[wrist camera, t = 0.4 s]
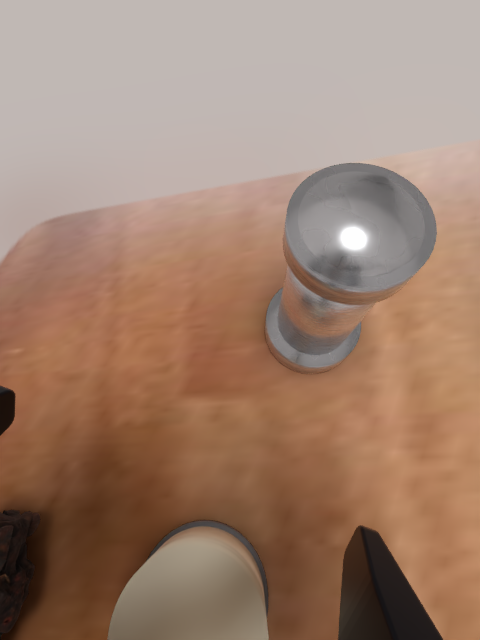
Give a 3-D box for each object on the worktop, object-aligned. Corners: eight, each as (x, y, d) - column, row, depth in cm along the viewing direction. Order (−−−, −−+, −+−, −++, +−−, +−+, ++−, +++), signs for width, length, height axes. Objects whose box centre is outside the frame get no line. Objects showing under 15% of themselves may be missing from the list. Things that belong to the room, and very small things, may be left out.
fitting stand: (286, 648, 18) (298, 717, 13) (153, 698, 17) (118, 789, 13) (245, 503, 20) (244, 517, 15) (128, 543, 20) (89, 571, 15)
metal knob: (366, 358, 23) (478, 267, 12) (281, 385, 22) (313, 316, 11) (332, 282, 25) (398, 141, 14) (253, 305, 24) (256, 179, 13)
